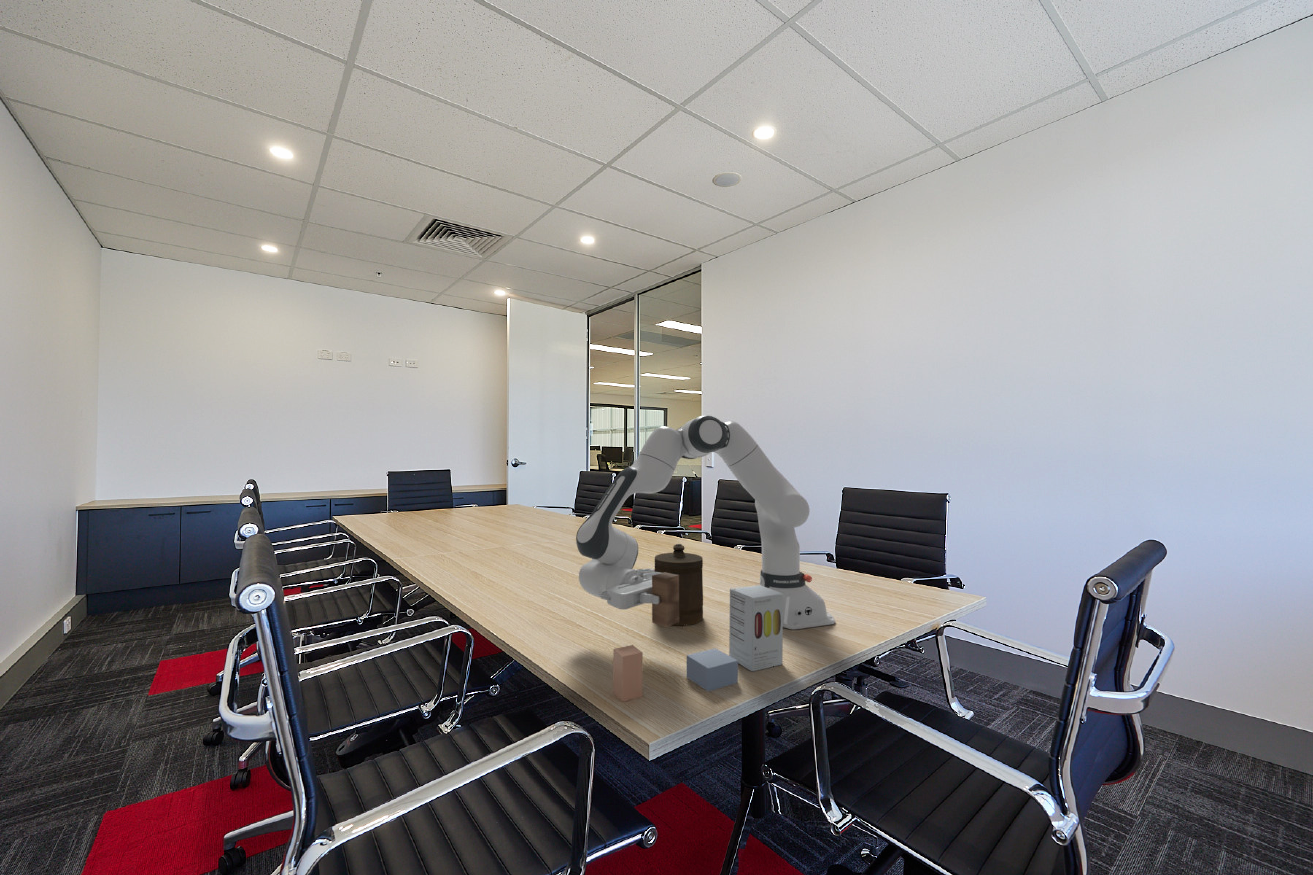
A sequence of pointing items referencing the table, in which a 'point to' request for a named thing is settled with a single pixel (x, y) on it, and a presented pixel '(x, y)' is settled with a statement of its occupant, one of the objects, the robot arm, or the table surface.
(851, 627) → the table surface
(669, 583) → the walnut post
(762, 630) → the supplement box
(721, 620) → the table surface
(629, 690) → the terracotta post
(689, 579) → the wooden container
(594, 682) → the table surface
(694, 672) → the slate block
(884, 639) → the table surface
